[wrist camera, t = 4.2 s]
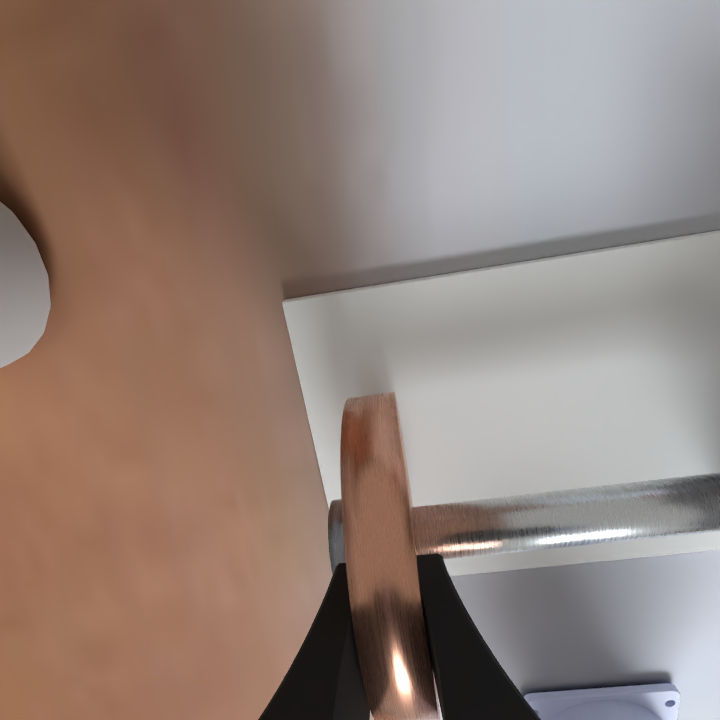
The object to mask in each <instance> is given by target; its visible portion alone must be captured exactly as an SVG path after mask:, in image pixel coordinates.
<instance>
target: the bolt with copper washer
mask: <svg viewBox="0 0 720 720" xmlns="http://www.w3.org/2000/svg"><path fill="white" fill-rule="evenodd" d="M340 476H341V499H337V500H332V501H331V504H330V508H329V517H328V539H329V553H330V561H331V567H332V572H333V574H334V571H335V568H336V566H337V565H338V564H339V563H346V570H347V580H348V589H349V597H350V606H351V614H352V621H353V628H354V635H355V642H356V648H357V654H358V659H359V665H360V670H361V675H362V680H363V685H364V689H365V693H366V697H367V701H368V704H369V707H370V710H371V713H372V716H373V718H374V719H375V720H440V712H439V702H438V693H437V688H436V683H435V678H434V674H433V668H432V662H431V655H430V649H429V642H428V636H427V630H426V623H425V617H424V610H423V604H422V597H421V591H420V583H419V574H418V564H417V555H425V554H435V553H439V554H440V555H441V556H443V560H444V559H454V558H464V557H473V556H483V555H493V554H503V553H513V552H522V551H532V550H542V549H552V548H562V547H571V546H581V545H591V544H601V543H610V542H620V541H630V540H640V539H650V538H659V537H669V536H679V535H689V534H699V533H708V532H718V531H720V472H718V473H709V474H701V475H692V476H683V477H674V478H665V479H656V480H648V481H639V482H630V483H621V484H612V485H604V486H595V487H586V488H577V489H568V490H559V491H551V492H542V493H533V494H524V495H515V496H507V497H498V498H489V499H480V500H471V501H462V502H454V503H445V504H436V505H427V506H418V507H413V503H412V496H411V489H410V482H409V475H408V468H407V461H406V455H405V448H404V442H403V435H402V429H401V422H400V416H399V410H398V404H397V399H396V394H395V392H389V393H382V394H374V395H367V396H360V397H352V398H348V399H347V400H346V402H345V405H344V409H343V416H342V424H341V446H340Z"/></svg>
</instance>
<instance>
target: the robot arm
mask: <svg viewBox="0 0 720 720" xmlns="http://www.w3.org/2000/svg"><path fill="white" fill-rule="evenodd" d="M417 564H418V574H419V583H420V591H421V597H422V604H423V610H424V617H425V623H426V630H427V636H428V642H429V649H430V655H431V662H432V668H433V674H434V678H435V683H436V688H437V693H438V698H439V703H440V707H441V712H442V717H443V720H678V712H679V703H680V692H679V691H678V689H677V688H676V686H675V685H673V684H671V683H661V684H647V685H634V686H620V687H607V688H593V689H580V690H566V691H553V692H539V693H529V694H526V695H525V696H524V697H523V696H522V694H521V693H520V692H519V690H518V689H517V688H516V686H515V685H514V684H513V682H512V681H511V679H510V678H509V677H508V675H507V674H506V672H505V671H504V670H503V668H502V667H501V665H500V664H499V662H498V661H497V659H496V658H495V656H494V655H493V653H492V652H491V650H490V648H489V647H488V645H487V644H486V642H485V641H484V639H483V638H482V636H481V634H480V633H479V631H478V629H477V628H476V626H475V624H474V622H473V621H472V619H471V617H470V615H469V614H468V612H467V610H466V608H465V607H464V605H463V603H462V601H461V599H460V597H459V595H458V593H457V591H456V589H455V587H454V585H453V583H452V580H451V578H450V576H449V573H448V571H447V568H446V566H445V563H444V560H443V556H441V555H440V554H439V553H435V554H425V555H417ZM369 718H370V707H369V704H368V701H367V697H366V693H365V689H364V685H363V680H362V675H361V670H360V665H359V659H358V654H357V648H356V642H355V635H354V628H353V621H352V614H351V606H350V597H349V589H348V580H347V570H346V563H339V564H338V565H337V566H336V568H335V571H334V574H333V576H332V579H331V582H330V585H329V587H328V590H327V592H326V595H325V597H324V599H323V602H322V604H321V606H320V609H319V611H318V613H317V615H316V617H315V619H314V622H313V624H312V626H311V628H310V630H309V632H308V634H307V636H306V638H305V640H304V642H303V644H302V646H301V648H300V650H299V652H298V654H297V656H296V657H295V659H294V661H293V663H292V665H291V667H290V669H289V670H288V672H287V674H286V676H285V677H284V679H283V681H282V683H281V684H280V686H279V688H278V689H277V691H276V693H275V694H274V696H273V698H272V699H271V701H270V702H269V704H268V706H267V707H266V709H265V710H264V712H263V713H262V715H261V716H260V718H259V719H258V720H369Z"/></svg>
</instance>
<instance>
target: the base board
mask: <svg viewBox="0 0 720 720" xmlns="http://www.w3.org/2000/svg"><path fill="white" fill-rule="evenodd" d="M282 305H283V309H284V314H285V318H286V322H287V327H288V331H289V336H290V340H291V344H292V349H293V353H294V358H295V362H296V366H297V371H298V375H299V380H300V384H301V388H302V393H303V397H304V402H305V406H306V410H307V415H308V419H309V424H310V428H311V433H312V437H313V441H314V446H315V450H316V455H317V459H318V463H319V468H320V472H321V477H322V481H323V485H324V490H325V494H326V499H327V503H328V507H329V508H330V504H331V501H332V500H337V499H341V476H340V446H341V424H342V416H343V409H344V405H345V402H346V400H347V399H348V398H352V397H360V396H367V395H374V394H382V393H389V392H395V394H396V399H397V404H398V410H399V416H400V422H401V429H402V435H403V442H404V448H405V455H406V461H407V468H408V475H409V482H410V489H411V496H412V503H413V507H418V506H427V505H436V504H445V503H454V502H462V501H471V500H480V499H489V498H498V497H507V496H515V495H524V494H533V493H542V492H551V491H559V490H568V489H577V488H586V487H595V486H604V485H612V484H621V483H630V482H639V481H648V480H656V479H665V478H674V477H683V476H692V475H701V474H709V473H718V472H720V230H718V231H712V232H706V233H699V234H693V235H687V236H681V237H674V238H668V239H662V240H656V241H649V242H643V243H637V244H630V245H624V246H618V247H612V248H605V249H599V250H593V251H587V252H580V253H574V254H568V255H561V256H555V257H549V258H543V259H536V260H530V261H524V262H518V263H511V264H505V265H499V266H492V267H486V268H480V269H474V270H467V271H461V272H455V273H449V274H442V275H436V276H430V277H423V278H417V279H411V280H405V281H398V282H392V283H386V284H380V285H373V286H367V287H361V288H354V289H348V290H342V291H336V292H329V293H323V294H317V295H311V296H304V297H298V298H292V299H285V300H284V301H283V302H282ZM713 550H720V531H718V532H708V533H699V534H689V535H679V536H669V537H659V538H650V539H640V540H630V541H620V542H610V543H601V544H591V545H581V546H571V547H562V548H552V549H542V550H532V551H522V552H513V553H503V554H493V555H483V556H473V557H464V558H454V559H444V563H445V566H446V568H447V571H448V573H449V576H460V575H470V574H480V573H490V572H500V571H510V570H520V569H531V568H541V567H551V566H561V565H571V564H581V563H591V562H602V561H612V560H622V559H632V558H642V557H652V556H662V555H673V554H683V553H693V552H703V551H713Z"/></svg>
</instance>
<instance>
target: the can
mask: <svg viewBox="0 0 720 720" xmlns="http://www.w3.org/2000/svg"><path fill="white" fill-rule="evenodd" d="M50 308H51V302H50V291H49V279H48V274H47V271H46V269H45V266H44V264H43V261H42V259H41V256H40V253H39V251H38V248H37V246H36V243H35V242H34V240H33V239H32V238H31V236H30V235H29V234H28V232H27V231H26V229H25V228H24V227H23V225H22V224H21V222H20V221H19V220H18V218H17V217H16V216H15V214H14V213H13V212H12V211H11V210H10V209H9V208H7V207H6V206H5V205H4V204H3V203H1V202H0V368H2V367H4V366H6V365H8V364H10V363H12V362H13V361H15V360H17V359H19V358H21V357H22V356H24V355H26V354H28V353H29V352H30V350H31V349H32V348H33V347H34V345H35V344H36V343H37V341H38V340H39V339H40V337H41V336H42V335H43V333H44V331H45V327H46V323H47V319H48V315H49V311H50Z"/></svg>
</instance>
